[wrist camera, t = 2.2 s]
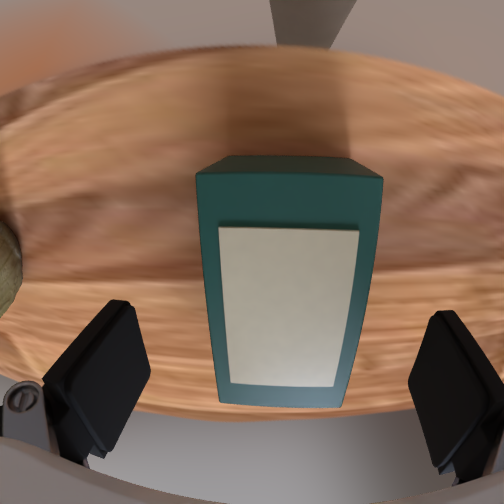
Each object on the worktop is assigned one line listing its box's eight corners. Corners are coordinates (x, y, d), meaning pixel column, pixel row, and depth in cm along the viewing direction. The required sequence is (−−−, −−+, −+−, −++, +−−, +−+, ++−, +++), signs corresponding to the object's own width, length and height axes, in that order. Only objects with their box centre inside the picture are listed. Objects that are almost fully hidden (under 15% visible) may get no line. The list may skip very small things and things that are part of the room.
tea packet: (226, 155, 12) (193, 173, 8) (351, 157, 11) (385, 177, 7) (235, 336, 16) (218, 404, 11) (332, 340, 15) (341, 410, 11)
